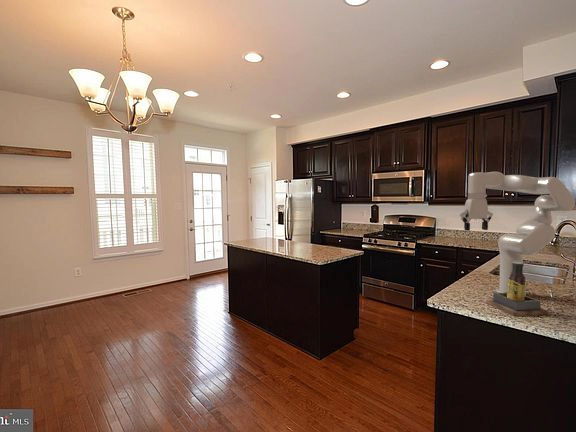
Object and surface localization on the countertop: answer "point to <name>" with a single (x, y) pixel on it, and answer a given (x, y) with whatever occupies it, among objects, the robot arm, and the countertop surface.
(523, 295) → the sauce bottle
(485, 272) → the countertop surface
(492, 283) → the countertop surface
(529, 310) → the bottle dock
